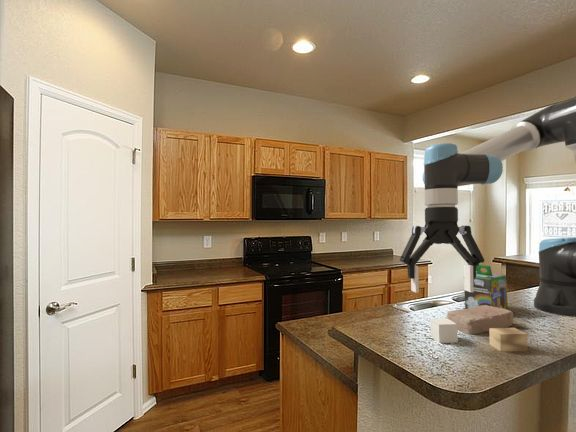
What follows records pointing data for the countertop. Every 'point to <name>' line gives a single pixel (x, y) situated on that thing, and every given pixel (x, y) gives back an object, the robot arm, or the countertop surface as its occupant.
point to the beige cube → (444, 330)
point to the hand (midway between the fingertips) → (441, 291)
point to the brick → (480, 319)
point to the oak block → (508, 339)
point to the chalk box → (487, 290)
